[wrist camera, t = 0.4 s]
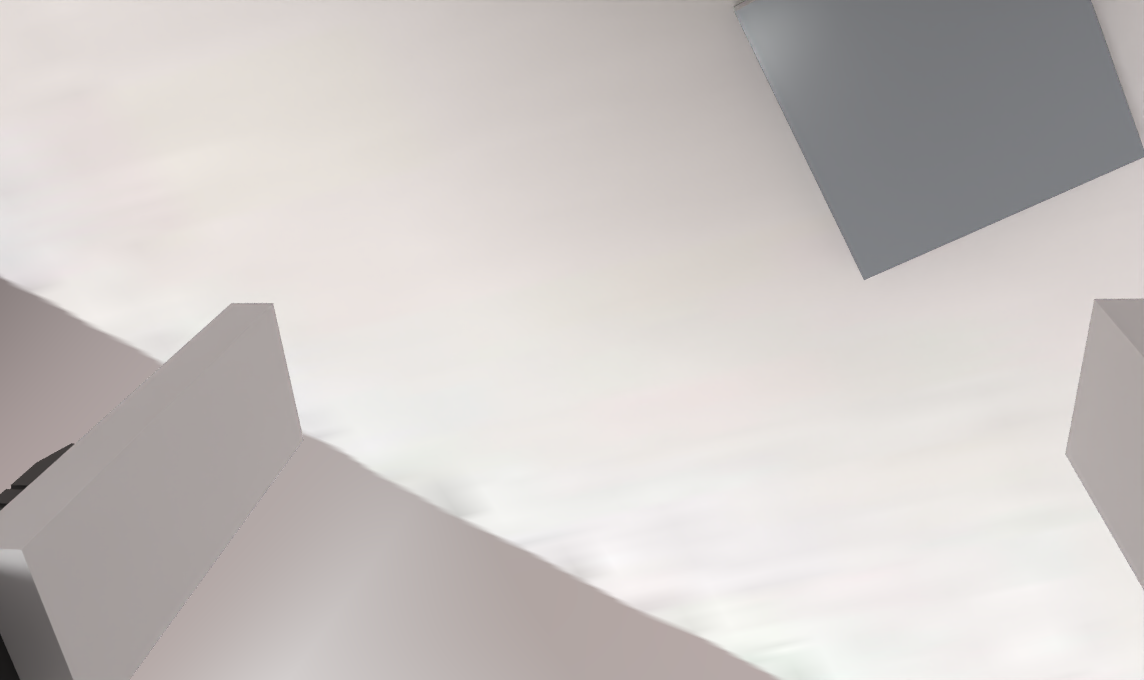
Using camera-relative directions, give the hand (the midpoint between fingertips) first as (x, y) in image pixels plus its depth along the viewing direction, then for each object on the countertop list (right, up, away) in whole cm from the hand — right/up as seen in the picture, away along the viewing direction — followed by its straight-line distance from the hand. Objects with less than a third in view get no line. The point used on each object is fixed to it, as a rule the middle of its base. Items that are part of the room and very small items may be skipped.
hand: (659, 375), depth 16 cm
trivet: (+13, +11, +21) cm, 27 cm away
